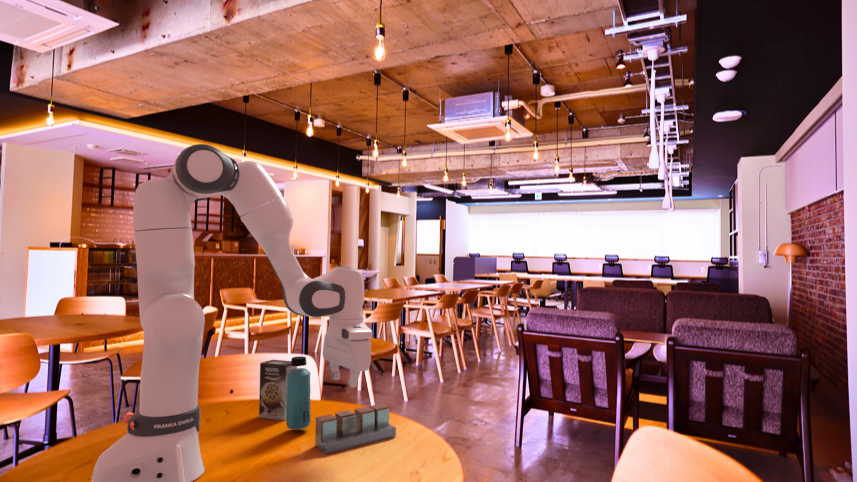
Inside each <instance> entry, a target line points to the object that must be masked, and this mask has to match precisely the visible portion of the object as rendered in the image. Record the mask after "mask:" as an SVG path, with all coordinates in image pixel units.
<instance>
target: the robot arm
mask: <svg viewBox="0 0 857 482" xmlns="http://www.w3.org/2000/svg"><path fill="white" fill-rule="evenodd" d="M134 193H135V194H134V199H133V211H132V212H133V213H132V216H133V218H132V221H133V222H132V224H133V225H132V226H133V237H134V247H135V259H136V260H135V261H136V269H137V270H136V271H137V275H136V276H137V292H138V294H137V295H138V308H139V309H138V310H139V311H138V312H139V322H140V326H141V328H142V330H143V345H142V346H143V347H142V348H143V349H142V361H141V370H140V377H139V378H140V379H139V380H140V382H139V383H140V384H139V411H137V413H133V412H131V411H130V412H126V413H125V415H124V416H123V422H124V423H125V424H126V425H127V433H126V434H124V435H122V437H121V438H119V439H118V440H117V441H115V442H114V443H113V444H112V445H110V447H108V448H107V449H106V450H104V451H103V452H102V453H101V454H100V455H99V457H98V459H96V462H95V465H94V468H93V470H92V471H93V473H92V476H91V477H92V480H91V481H92V482H193V481H195V480H197V479H199V477H201V476H202V475H203V474H204V472H205V465H204V463H203V459H202V455H201V449H200V448H201V447H200V441H199V431H200V428H201V408H200V407H201V406H200V405H199V404H198V403H199V402H198V401H199V398H198V396H199V372H200V371H199V370H200V362H201V357H202V356H201V355H202V351H203V350H202V349H203V348H202V347H203V341H204V340H203V339H204V330H205V322H206V320H205V319H206V316H205V312H204V310H203V308H202V306H201V305H200V304H199V303H198V301H196V300H195V285H194V284H195V266H196V261H195V250H194V247H195V246H194V238H193V229H192V227H193V226H192V220H191V213H192V212H191V210H192V206H193V204H194V203H197V202H199V201H203V200H207V199H209V198H212V197H213V196H216V195H219V196H223V197H224V198H225V199H227V200H228V201H229V202H230V203H231V205H233V207H234V208H235V211H236V213H237V214H238V215H239V217H240V220H241V221H242V222H243V224H244V225H245V227H246V229H247V230H248V232H249V233H250V234H251V236H252V237H253V238H254V239H255V241H256V243H258V245H259V246H260V247H261V249H262V250H263V252H264V253H265V255H266V257H267V259H268V261H269V263H270V265H271V266H272V268H273V270H274V272H275V274H276V276H277V279H279V281H280V284H281V287H282V288H281V289H282V298H283V302H284V305H285V307H286V309H288V311H289V312H291V313H292V314H293V315H297V316H304V317H310V318H321V317H326V316H328V317H329V318H328V329H327V332H326V333H325V335H324V337H323V344H322V345H323V347H322V357H323V360H324V361H327V362H329V369H330V372H331V380H334V381H338V380H339V381H340V379H341V372H340V369H339V366H340V367H343V368H345V369H348V370H350V378H349V379H348V381H347V385H348V387H350V388H357V386H358V379H359V377H360V375H361V372H366V371H368V370H369V369H370V367H371V362H372V361H371V359H372V343H371V341H370V340H372V339H373V335H374V334H373V330H372V329H371V328H370V327H369V326H367V324H366V323H365V322H364V312H363V306H364V303H365V280H364V276H363V275H364V274H363V273H362V272H361V270H359V269H356V268H353V267H349V266H342V265H337V266H334V268H332V269H331V270H330V271H327V272H326V273H324V274H321V275H319V276H316V277H314V278H311V277H309V275H307V274H306V273H305V272H304V270H303V268H302V266H301V264H300V263H299V260H298V259H297V257H296V255H295V253H294V251H293V249H292V247H291V243H290V242H291V241H290V236H291V231H292V228H293V225H294V218H293V215H292V213H291V209H290V207H289V205H288V202H287V201H286V199H285V197H284V195H283V194H282V192H281V190H280V188H279V187H278V186H277V184H276V182H275V181H274V180H273V178H272V177H271V176H270V175H269V173H268V172H267V170H265V168H264V167H263V166H262V165H261V164H260V163H258V162H256V161H249V160H248V161H247V160H245V161H241V162H238V161H236V160H235V158H234V159H233V158H232V157H230V156H229V155H227V153H225V152H223V151H221V149H220V148H219V149H218V148H217V147H215V146H212V145H209V144H206V143H199V144H198V143H196V144H192V145H189V146H187V147H186V148H184V149H183V150H181V152H180V153H179V154H178V156H177V158H175V161H174V163H173V164H172V167H171V171H170V174H169V175H168V176H167V177H164V178H153V179H149V180H146V181H143V182H142V183H140V184H139V185H138V186H137V188H136V189H135V192H134Z"/></svg>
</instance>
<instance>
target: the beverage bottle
mask: <svg viewBox="0 0 857 482" xmlns="http://www.w3.org/2000/svg"><path fill="white" fill-rule="evenodd" d="M290 361H291V366H297V368H296V369H292V370H291V371H289V372H288V374H287V406H286V407H287V408H286V410H287V415H286V416H287V419H286V420H285V423H286V428H287V429H289V430H290V429H291V430H302V429H307V428H308V427H309V426H310V425H311V422H312V421H311V416H312V413H311V408H312V407H311V371H309V370H308V369H307V368H304V366H307V357H306V356H301V355H299V356H294V357H293V356H292V357H291V360H290Z"/></svg>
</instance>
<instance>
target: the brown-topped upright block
mask: <svg viewBox="0 0 857 482" xmlns="http://www.w3.org/2000/svg"><path fill="white" fill-rule="evenodd" d="M334 416H335V417H336V420H337V425H336V437H339V436H343V435H347V434H351V433H355V432H356V416H355V411H354V412H353V411H351V410H350V409H347V410H342V411H337V412H335V413H334Z"/></svg>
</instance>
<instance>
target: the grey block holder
mask: <svg viewBox="0 0 857 482" xmlns="http://www.w3.org/2000/svg"><path fill="white" fill-rule="evenodd" d="M354 413H355V416H356V432H355V433H351V434H347V435H343V436H339V437H336V425H337V420H336V417H335V415H333V414H331V413H329V414H325V415H324V414H323V415H320V416H315V428H314V429H315V431H314V432H315V435H314V436H315V438H314V439H315V441H314V442H315V445H314V446H315V447H317V448H318V449H319V452H320V453H322V454H324V455H325V456H326V455H330V454H334V453H338V452H341V451H346V450H350V449H353V448H357V447H360V446H361V447H362V446H365V445H368V444H369V445H370V444H373V443H376V442H380V441H384V440H389V439H392V438H395V437H394V436H397V427H396V426H394V425H392V424H390V407H389V405H386V404H384V403H377V404H372V405H368V406H362V407H359V408H355V409H354ZM391 437H392V438H391Z"/></svg>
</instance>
